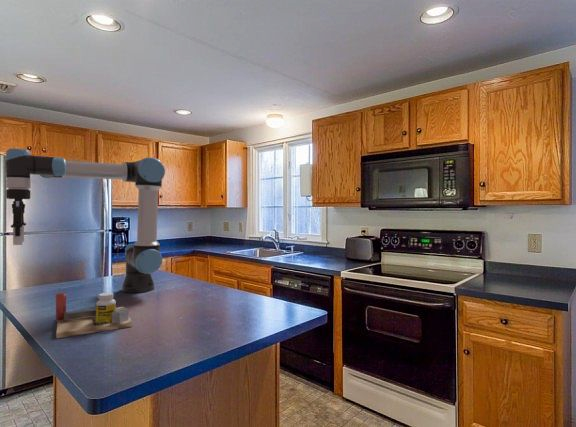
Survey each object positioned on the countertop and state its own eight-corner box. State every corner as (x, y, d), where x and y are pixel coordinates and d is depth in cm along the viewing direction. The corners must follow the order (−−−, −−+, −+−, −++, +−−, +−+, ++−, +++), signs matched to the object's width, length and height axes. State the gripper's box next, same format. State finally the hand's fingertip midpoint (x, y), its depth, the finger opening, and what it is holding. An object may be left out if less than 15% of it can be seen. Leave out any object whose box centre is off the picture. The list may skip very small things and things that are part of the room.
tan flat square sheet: (123, 310, 142) (123, 305, 142) (131, 326, 123) (131, 320, 123) (58, 319, 130) (58, 314, 130) (56, 338, 111) (56, 332, 111)
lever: (108, 311, 132) (108, 287, 132) (109, 314, 129) (108, 289, 129) (56, 318, 124) (55, 293, 124) (55, 321, 121) (55, 295, 120)
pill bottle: (95, 329, 120) (95, 296, 120) (96, 323, 125) (96, 292, 125) (116, 326, 123) (115, 294, 123) (115, 321, 128) (115, 291, 128)
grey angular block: (120, 323, 126) (120, 307, 126) (128, 323, 126) (128, 308, 125) (111, 328, 121) (111, 311, 121) (119, 328, 121) (119, 312, 121)
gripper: (8, 189, 146) (9, 241, 146) (2, 187, 125) (3, 246, 126) (31, 190, 150) (31, 240, 150) (29, 187, 129) (29, 245, 130)
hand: (18, 243), depth 138 cm, fingers open, 13 cm apart
